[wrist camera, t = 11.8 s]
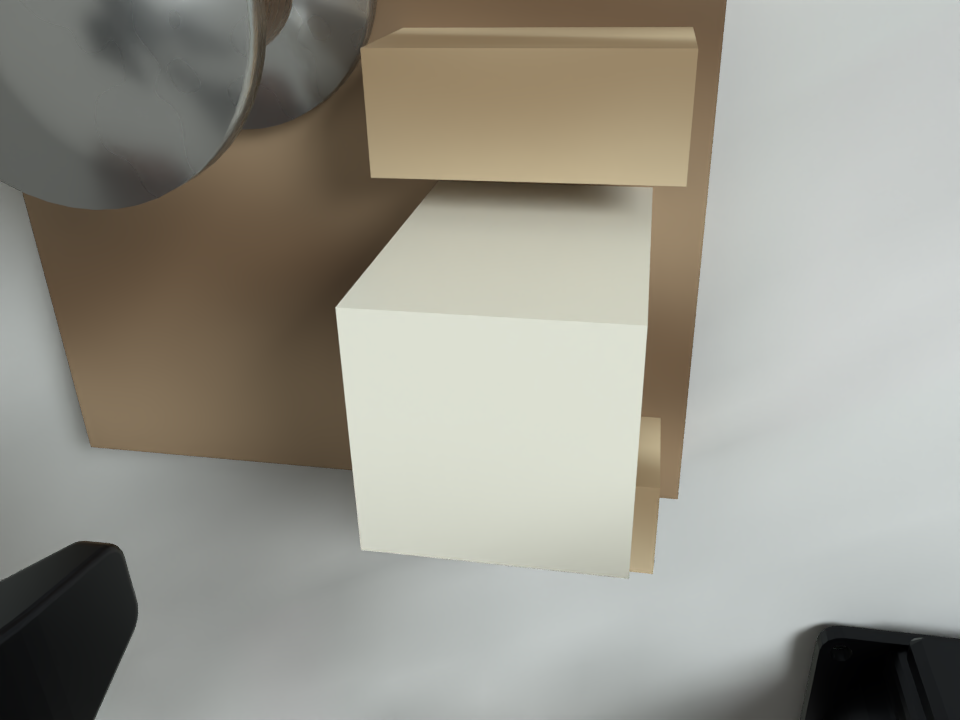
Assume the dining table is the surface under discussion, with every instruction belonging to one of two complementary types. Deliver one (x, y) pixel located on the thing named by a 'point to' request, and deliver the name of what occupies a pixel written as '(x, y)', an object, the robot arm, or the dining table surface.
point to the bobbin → (157, 87)
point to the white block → (502, 376)
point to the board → (318, 267)
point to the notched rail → (539, 130)
